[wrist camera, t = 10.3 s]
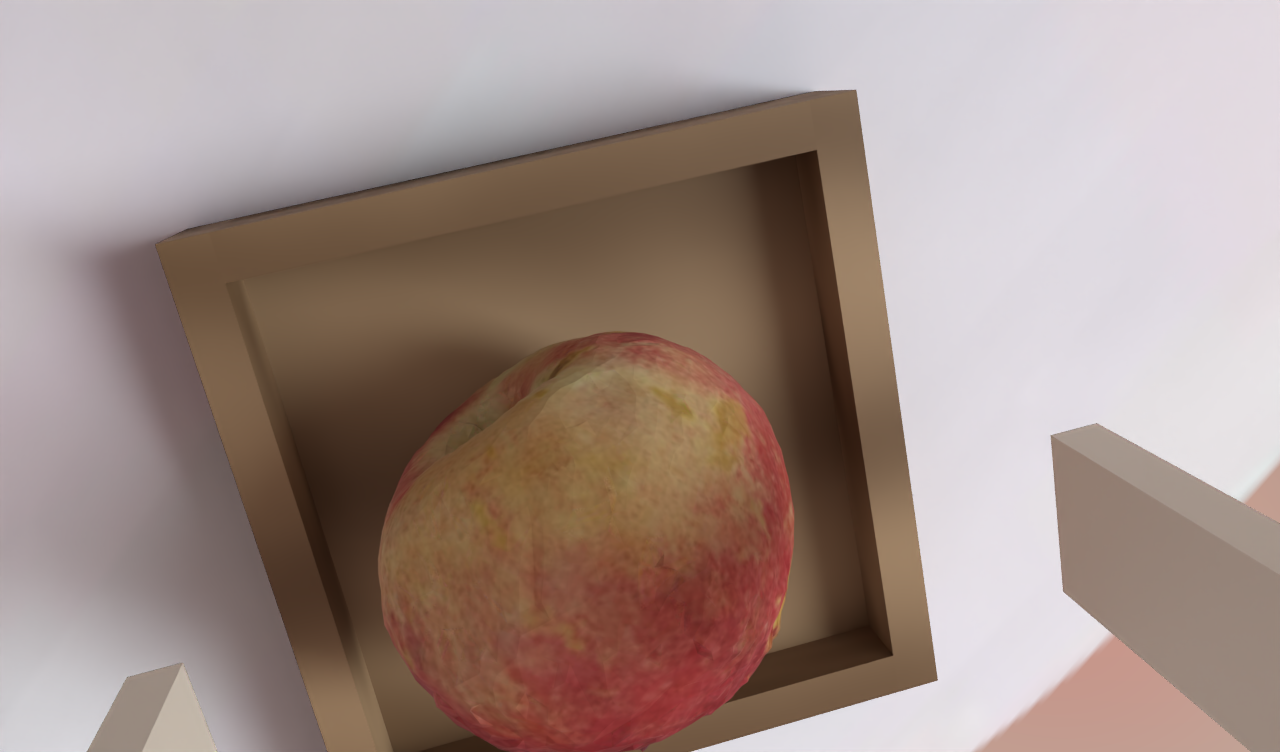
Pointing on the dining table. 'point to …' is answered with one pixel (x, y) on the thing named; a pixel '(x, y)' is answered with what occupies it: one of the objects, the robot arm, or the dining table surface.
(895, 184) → the dining table surface
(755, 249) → the walnut tray
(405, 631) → the fruit
